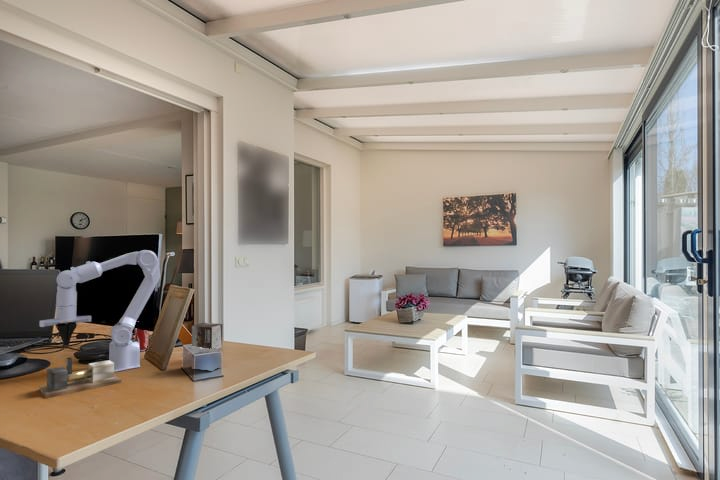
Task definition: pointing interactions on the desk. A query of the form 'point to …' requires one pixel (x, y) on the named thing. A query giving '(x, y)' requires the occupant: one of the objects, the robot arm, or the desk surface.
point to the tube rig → (60, 386)
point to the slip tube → (78, 374)
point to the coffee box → (207, 335)
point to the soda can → (142, 338)
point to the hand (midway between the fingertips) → (65, 345)
